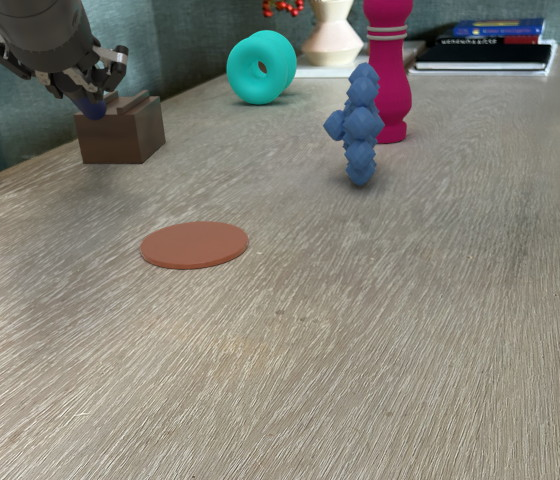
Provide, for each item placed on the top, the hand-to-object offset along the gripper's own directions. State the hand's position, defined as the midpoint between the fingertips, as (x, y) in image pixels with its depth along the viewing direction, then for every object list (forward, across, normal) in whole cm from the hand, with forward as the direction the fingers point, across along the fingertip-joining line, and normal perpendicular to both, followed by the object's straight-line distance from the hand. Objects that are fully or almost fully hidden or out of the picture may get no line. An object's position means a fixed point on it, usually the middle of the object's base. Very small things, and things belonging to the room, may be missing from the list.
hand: (77, 92), depth 73 cm
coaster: (-12, -15, +17) cm, 26 cm away
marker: (+2, 0, -1) cm, 2 cm away
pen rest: (+16, -3, 0) cm, 17 cm away
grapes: (+1, -31, +5) cm, 32 cm away
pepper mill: (+14, -37, -5) cm, 40 cm away
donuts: (+38, -21, -18) cm, 47 cm away
